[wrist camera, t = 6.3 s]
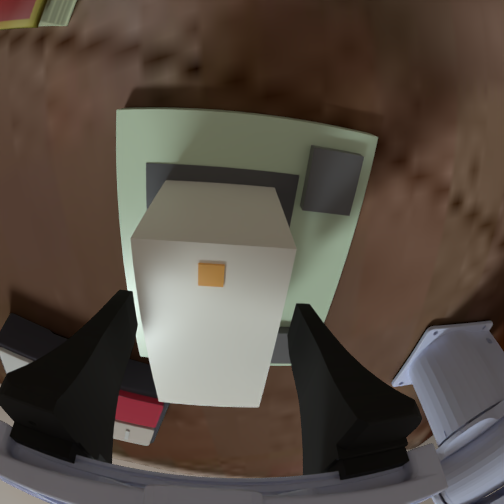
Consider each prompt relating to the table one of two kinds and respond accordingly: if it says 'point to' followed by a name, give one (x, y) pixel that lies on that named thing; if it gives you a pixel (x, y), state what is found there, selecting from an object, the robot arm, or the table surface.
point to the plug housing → (212, 289)
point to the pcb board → (256, 174)
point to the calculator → (131, 391)
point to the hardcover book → (35, 13)
